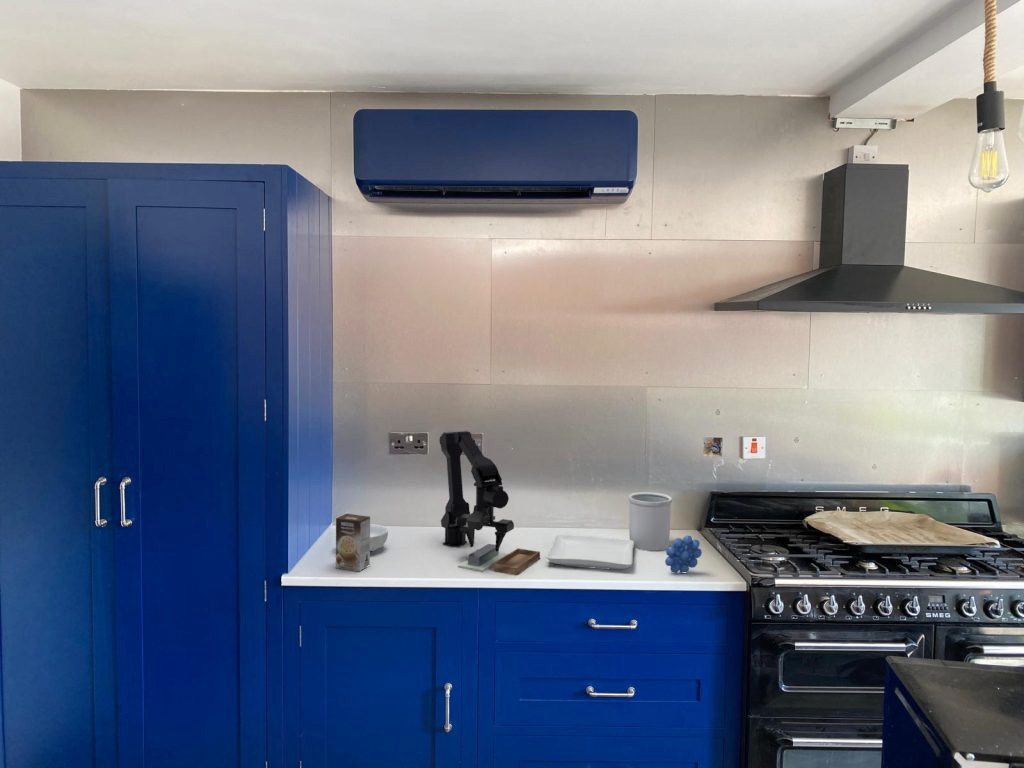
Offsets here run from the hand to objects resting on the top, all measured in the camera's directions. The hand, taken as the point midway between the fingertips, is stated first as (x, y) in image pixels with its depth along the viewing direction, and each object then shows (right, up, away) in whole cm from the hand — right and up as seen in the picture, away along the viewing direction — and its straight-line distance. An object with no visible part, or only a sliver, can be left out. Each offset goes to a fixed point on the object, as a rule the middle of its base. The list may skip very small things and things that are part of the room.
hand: (484, 549), depth 216 cm
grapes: (+62, -5, -8) cm, 63 cm away
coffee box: (-41, -4, -7) cm, 42 cm away
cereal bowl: (-42, -3, +10) cm, 43 cm away
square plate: (+36, -5, +5) cm, 36 cm away
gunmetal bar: (0, -3, 0) cm, 3 cm away
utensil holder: (+58, -4, +19) cm, 61 cm away
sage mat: (0, -4, 0) cm, 4 cm away
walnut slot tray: (+11, -4, -3) cm, 12 cm away
